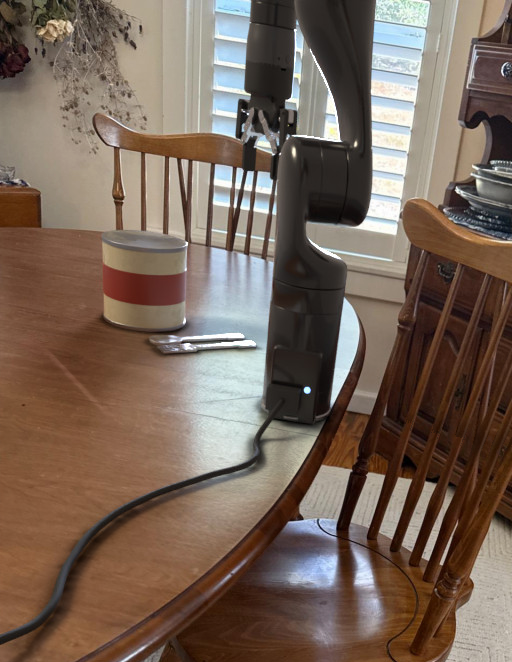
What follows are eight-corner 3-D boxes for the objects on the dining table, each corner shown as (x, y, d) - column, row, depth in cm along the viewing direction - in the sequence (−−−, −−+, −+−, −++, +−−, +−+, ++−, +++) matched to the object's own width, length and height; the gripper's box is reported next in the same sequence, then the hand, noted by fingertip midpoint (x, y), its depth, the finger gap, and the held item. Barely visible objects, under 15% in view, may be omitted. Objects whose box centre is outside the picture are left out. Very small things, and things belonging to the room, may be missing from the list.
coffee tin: (172, 336, 124) (174, 253, 117) (91, 323, 123) (88, 238, 117) (194, 316, 135) (196, 239, 129) (119, 304, 135) (118, 226, 128)
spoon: (236, 334, 130) (236, 331, 130) (247, 341, 127) (248, 338, 127) (145, 338, 121) (145, 335, 121) (155, 346, 118) (155, 343, 118)
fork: (249, 342, 127) (250, 339, 127) (257, 348, 125) (258, 345, 125) (156, 348, 118) (156, 345, 117) (163, 354, 116) (163, 350, 116)
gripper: (225, 54, 121) (220, 166, 129) (275, 62, 112) (266, 182, 120) (265, 61, 126) (258, 169, 134) (316, 69, 117) (305, 184, 125)
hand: (262, 175), depth 127 cm, fingers open, 8 cm apart
